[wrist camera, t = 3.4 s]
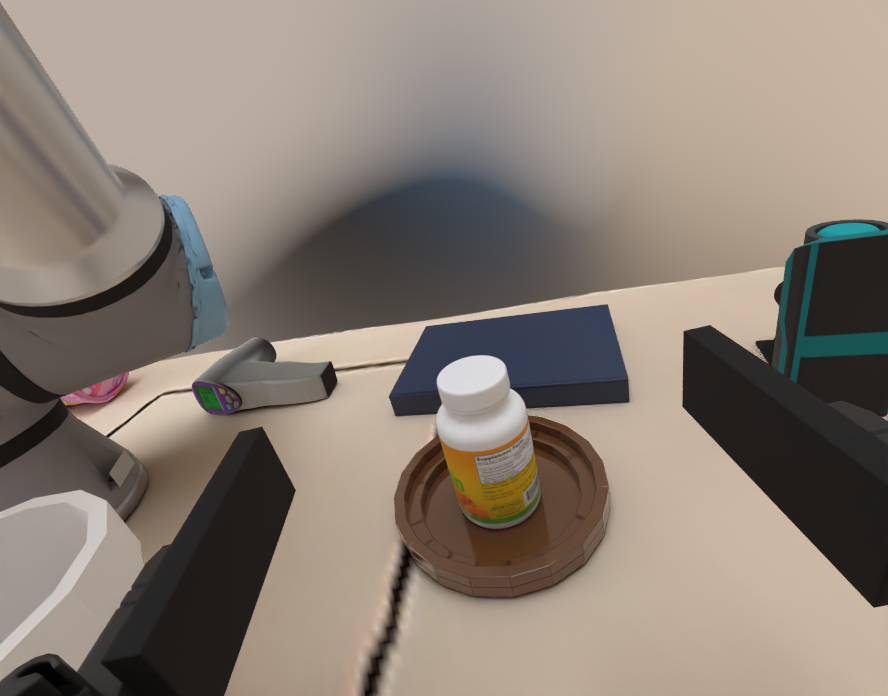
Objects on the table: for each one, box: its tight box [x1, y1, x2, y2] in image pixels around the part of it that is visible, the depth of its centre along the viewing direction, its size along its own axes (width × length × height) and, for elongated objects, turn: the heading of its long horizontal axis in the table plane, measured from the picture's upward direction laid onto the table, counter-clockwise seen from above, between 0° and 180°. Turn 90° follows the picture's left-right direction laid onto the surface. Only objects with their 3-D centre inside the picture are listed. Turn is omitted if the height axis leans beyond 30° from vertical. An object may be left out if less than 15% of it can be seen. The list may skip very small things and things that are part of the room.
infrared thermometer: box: [192, 337, 337, 415], centre depth 51 cm, size 5×12×15 cm
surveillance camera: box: [756, 220, 888, 416], centre depth 30 cm, size 6×12×10 cm
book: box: [389, 304, 629, 416], centre depth 43 cm, size 20×14×2 cm
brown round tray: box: [394, 416, 610, 597], centre depth 28 cm, size 13×13×2 cm
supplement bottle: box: [436, 355, 541, 529], centre depth 26 cm, size 5×5×10 cm
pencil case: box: [60, 372, 129, 405], centre depth 60 cm, size 21×9×9 cm, turn 77°
